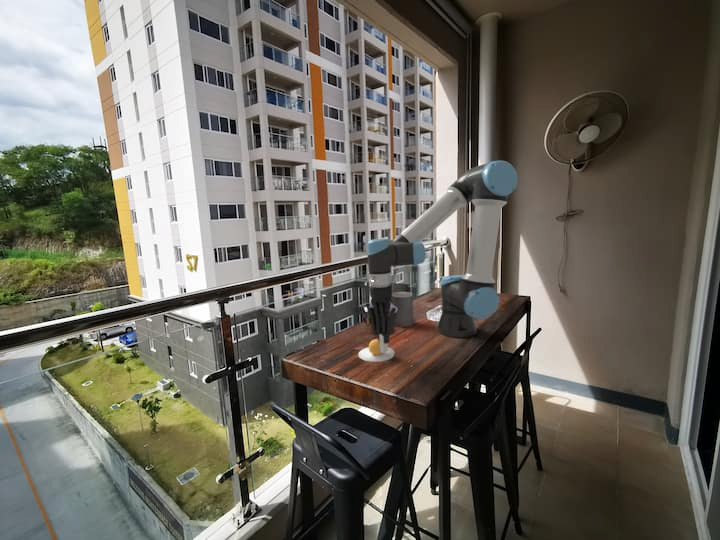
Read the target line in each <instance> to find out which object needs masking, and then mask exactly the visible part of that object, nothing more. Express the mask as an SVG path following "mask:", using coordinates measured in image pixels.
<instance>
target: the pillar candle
mask: <svg viewBox="0 0 720 540" xmlns="http://www.w3.org/2000/svg"><path fill="white" fill-rule="evenodd" d="M413 295H414V294H413V293H412V292H407V291H396V292H392V297H391V299H392V301H393V305H394V306H395V307H397V306H398V307H399V310H398V312H397V314H396V321H395V327H396V328H397V327H398V328H407V327H411V326H413V324H414V303H413V302H414V301H413V300H414V296H413Z"/></svg>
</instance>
